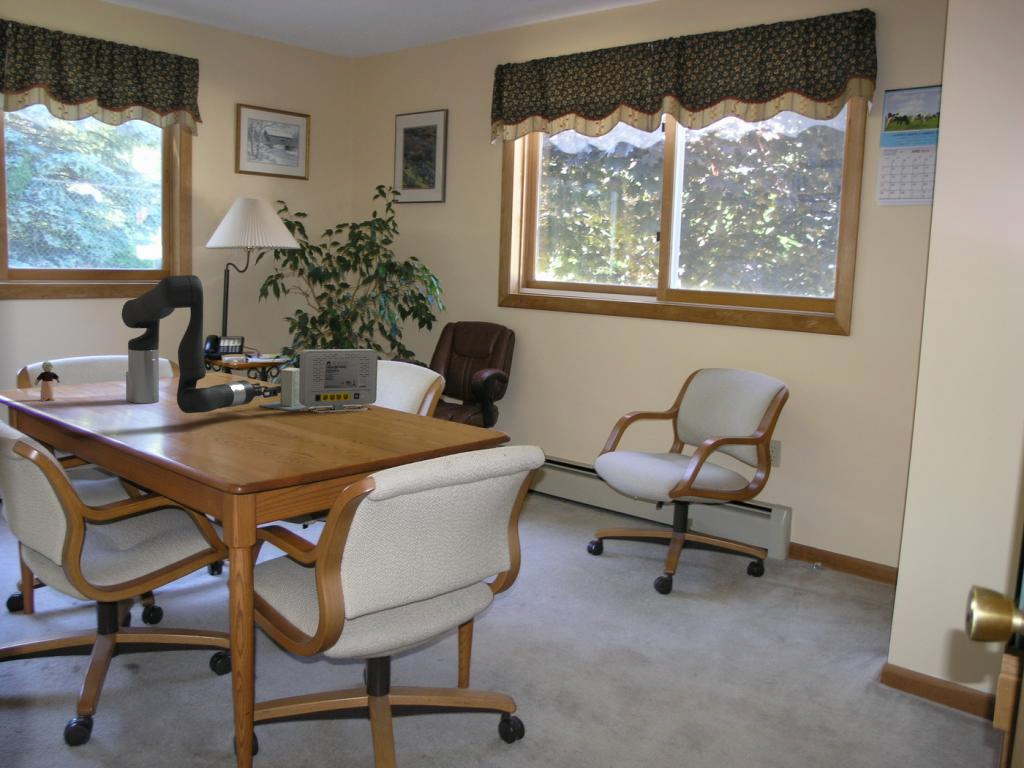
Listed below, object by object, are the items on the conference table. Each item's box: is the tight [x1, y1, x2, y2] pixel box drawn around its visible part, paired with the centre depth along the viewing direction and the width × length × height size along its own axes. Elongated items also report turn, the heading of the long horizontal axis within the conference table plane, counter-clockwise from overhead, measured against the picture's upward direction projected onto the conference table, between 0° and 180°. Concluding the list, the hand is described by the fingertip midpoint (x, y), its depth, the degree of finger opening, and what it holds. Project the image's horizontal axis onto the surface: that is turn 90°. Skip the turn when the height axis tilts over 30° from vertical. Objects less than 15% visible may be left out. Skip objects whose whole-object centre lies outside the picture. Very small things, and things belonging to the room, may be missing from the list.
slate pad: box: [258, 400, 315, 413], centre depth 293 cm, size 14×14×1 cm
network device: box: [299, 348, 379, 414], centre depth 291 cm, size 26×9×20 cm, turn 122°
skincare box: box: [279, 367, 300, 407], centre depth 292 cm, size 6×4×12 cm
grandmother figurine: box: [34, 360, 61, 402], centre depth 281 cm, size 8×4×13 cm, turn 150°
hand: (269, 387), depth 283 cm, fingers open, 8 cm apart
